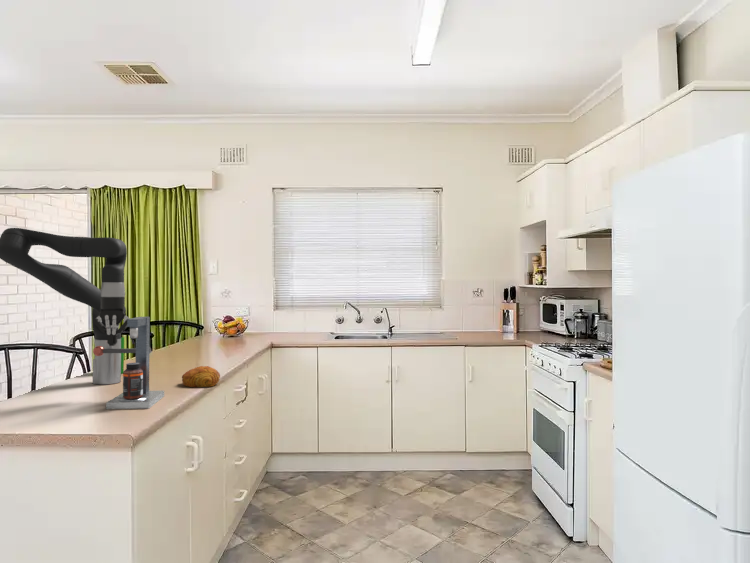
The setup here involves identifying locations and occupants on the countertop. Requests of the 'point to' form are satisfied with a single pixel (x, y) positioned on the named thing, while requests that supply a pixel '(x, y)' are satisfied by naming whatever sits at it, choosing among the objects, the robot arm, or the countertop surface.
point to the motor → (122, 355)
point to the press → (149, 398)
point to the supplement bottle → (132, 381)
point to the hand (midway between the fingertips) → (112, 345)
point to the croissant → (201, 377)
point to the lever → (113, 350)
